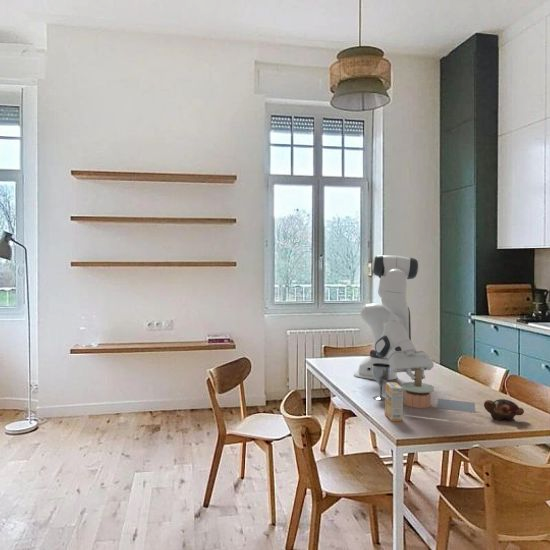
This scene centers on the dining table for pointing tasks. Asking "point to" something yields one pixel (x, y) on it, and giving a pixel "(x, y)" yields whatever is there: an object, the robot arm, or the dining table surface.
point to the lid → (418, 384)
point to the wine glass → (381, 376)
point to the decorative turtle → (503, 409)
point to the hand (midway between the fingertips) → (418, 378)
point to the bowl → (417, 399)
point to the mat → (456, 405)
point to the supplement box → (394, 401)
